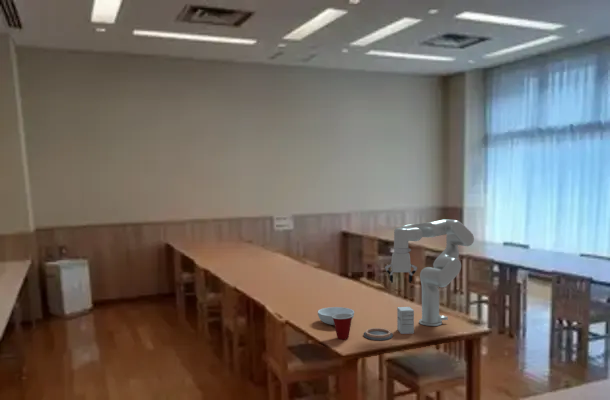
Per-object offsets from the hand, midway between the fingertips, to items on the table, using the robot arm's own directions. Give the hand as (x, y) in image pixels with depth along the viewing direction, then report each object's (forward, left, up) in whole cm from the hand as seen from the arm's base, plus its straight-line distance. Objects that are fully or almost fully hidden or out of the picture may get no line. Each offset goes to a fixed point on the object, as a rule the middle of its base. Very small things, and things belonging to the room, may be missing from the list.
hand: (400, 282), depth 278 cm
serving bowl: (+33, -16, -26) cm, 46 cm away
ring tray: (+14, +9, -26) cm, 31 cm away
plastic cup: (+33, +11, -26) cm, 44 cm away
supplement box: (-2, +4, -26) cm, 26 cm away
